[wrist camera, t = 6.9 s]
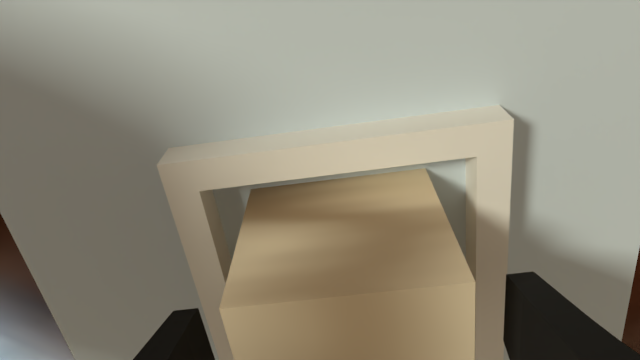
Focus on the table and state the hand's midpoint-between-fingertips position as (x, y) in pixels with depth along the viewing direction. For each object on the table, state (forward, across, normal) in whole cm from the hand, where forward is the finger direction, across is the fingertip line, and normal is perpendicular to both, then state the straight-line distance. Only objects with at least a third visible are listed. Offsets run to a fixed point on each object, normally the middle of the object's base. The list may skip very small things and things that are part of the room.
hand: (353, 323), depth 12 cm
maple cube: (+2, 0, 0) cm, 3 cm away
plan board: (+4, 0, -1) cm, 4 cm away
